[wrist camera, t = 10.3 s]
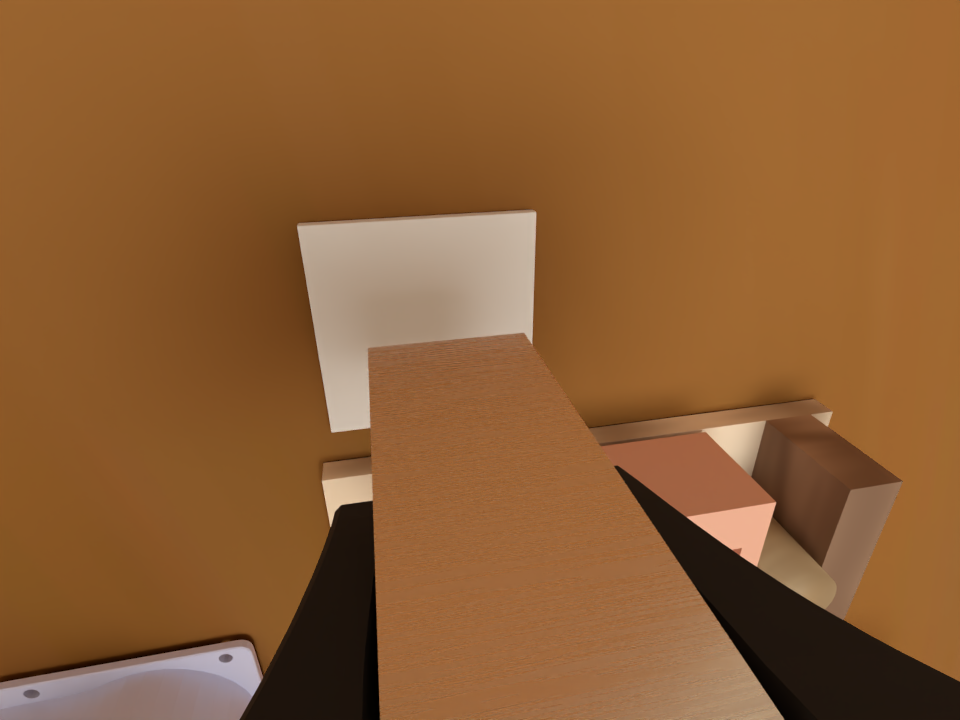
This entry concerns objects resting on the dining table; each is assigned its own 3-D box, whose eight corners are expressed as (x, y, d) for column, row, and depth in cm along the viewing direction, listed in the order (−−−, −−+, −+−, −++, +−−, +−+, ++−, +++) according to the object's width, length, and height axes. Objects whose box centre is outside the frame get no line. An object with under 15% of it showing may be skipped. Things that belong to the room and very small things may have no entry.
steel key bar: (383, 476, 14) (415, 1000, 6) (367, 347, 12) (383, 832, 4) (521, 457, 14) (720, 910, 6) (524, 332, 13) (792, 732, 5)
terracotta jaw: (546, 603, 23) (580, 695, 20) (555, 452, 20) (597, 531, 16) (675, 580, 24) (728, 662, 21) (705, 431, 21) (775, 502, 17)
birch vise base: (350, 614, 23) (348, 770, 18) (323, 462, 19) (310, 602, 14) (771, 540, 26) (873, 653, 21) (814, 399, 23) (950, 492, 18)
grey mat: (331, 426, 19) (331, 432, 19) (298, 222, 16) (297, 226, 15) (527, 402, 20) (530, 408, 20) (532, 209, 17) (536, 211, 17)
